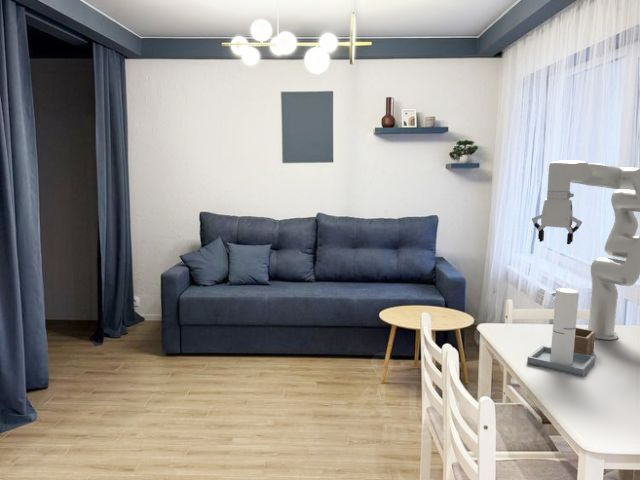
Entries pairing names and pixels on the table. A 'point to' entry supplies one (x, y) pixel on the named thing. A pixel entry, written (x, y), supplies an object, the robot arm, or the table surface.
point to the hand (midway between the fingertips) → (554, 242)
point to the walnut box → (584, 341)
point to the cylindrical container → (564, 326)
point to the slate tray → (576, 368)
